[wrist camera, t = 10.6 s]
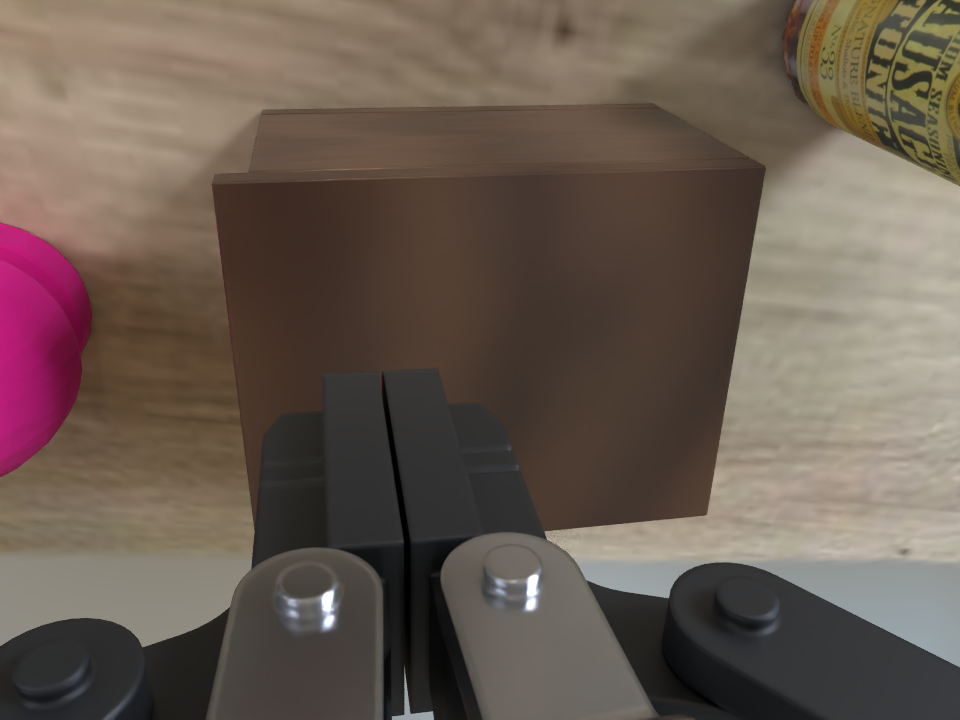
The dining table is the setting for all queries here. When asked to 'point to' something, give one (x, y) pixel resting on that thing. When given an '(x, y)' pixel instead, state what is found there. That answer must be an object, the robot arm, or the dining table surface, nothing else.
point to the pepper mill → (37, 343)
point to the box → (476, 137)
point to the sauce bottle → (882, 73)
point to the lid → (507, 311)
